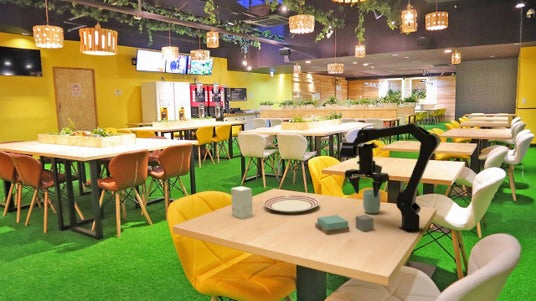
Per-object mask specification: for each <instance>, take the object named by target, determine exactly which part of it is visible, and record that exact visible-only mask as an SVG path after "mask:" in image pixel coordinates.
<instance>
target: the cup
mask: <svg viewBox="0 0 536 301" xmlns="http://www.w3.org/2000/svg"><path fill="white" fill-rule="evenodd" d="M381 194H382V192H381V191H380V190H379V192H378V195H377V197H374V192H373V189H364V190H363V191H362V205H363V210H364V212H366V213H367V214H370V215H374V214H378V213H379V211H380V209H381V205H382V204H381V202H382V201H381V200H382V197H381V196H382V195H381Z"/></svg>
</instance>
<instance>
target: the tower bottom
mask: <svg viewBox="0 0 536 301" xmlns="http://www.w3.org/2000/svg"><path fill="white" fill-rule="evenodd" d="M314 224H315V225H314V228H315V229H317V230H318V231H320V232H322V233H323V234H325V235H327V236H328V235H329V236H330V235H335V234H342V233H348V232H350V226H348V227H346V228H340V229H333V230H327V229H325V228H324V227H322V226H321V225H319V224H317V222H314Z"/></svg>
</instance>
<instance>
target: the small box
mask: <svg viewBox="0 0 536 301" xmlns="http://www.w3.org/2000/svg"><path fill="white" fill-rule="evenodd" d="M230 192H231V194H230V195H231V214H232V216H234V217H237V218H239V219H245V218H249V217H250V218H251V217H253V216H254V215H253V214H254V211H253V190H252V188H251V187H248V186H247V187H246V186H242V185H241V186H236V187H231V188H230Z"/></svg>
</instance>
